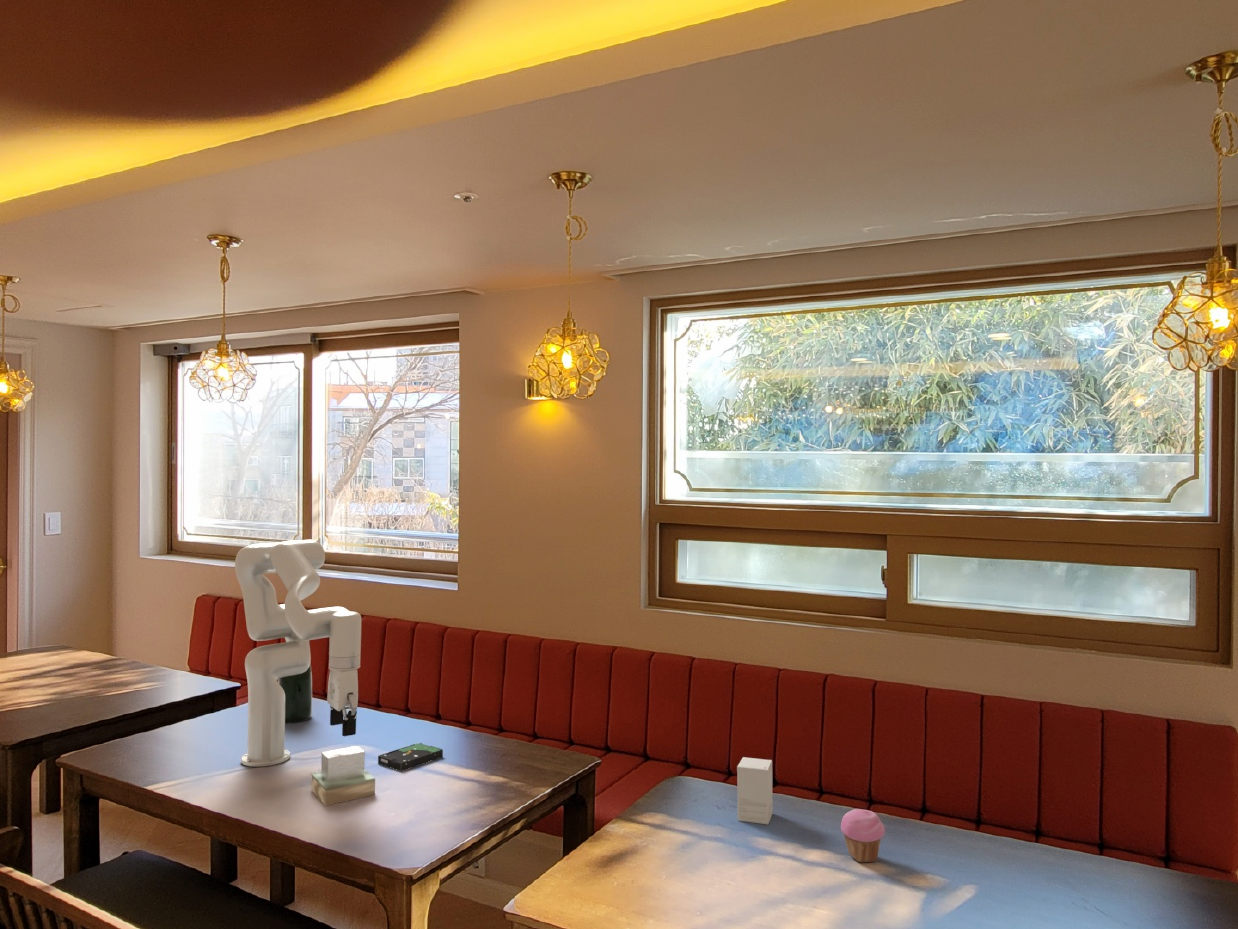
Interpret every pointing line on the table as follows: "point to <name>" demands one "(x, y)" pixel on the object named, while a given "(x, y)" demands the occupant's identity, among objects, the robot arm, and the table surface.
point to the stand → (343, 788)
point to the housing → (342, 764)
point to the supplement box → (754, 790)
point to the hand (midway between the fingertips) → (342, 729)
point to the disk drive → (410, 756)
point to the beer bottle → (297, 696)
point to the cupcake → (862, 834)
